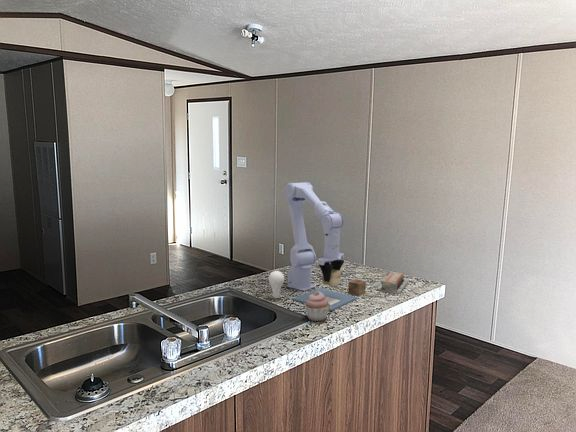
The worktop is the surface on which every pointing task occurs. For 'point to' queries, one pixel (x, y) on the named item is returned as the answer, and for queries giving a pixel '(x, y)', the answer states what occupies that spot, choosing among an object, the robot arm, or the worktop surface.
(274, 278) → the lightbulb
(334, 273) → the maple block
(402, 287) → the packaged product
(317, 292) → the cupcake
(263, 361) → the worktop surface
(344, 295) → the board
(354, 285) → the walnut block
